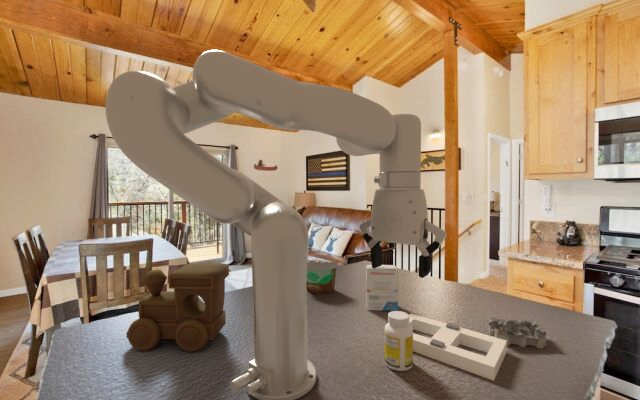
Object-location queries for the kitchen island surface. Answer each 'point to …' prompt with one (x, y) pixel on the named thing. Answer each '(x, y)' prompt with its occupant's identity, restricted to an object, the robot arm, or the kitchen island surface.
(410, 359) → the supplement bottle
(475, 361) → the socket plate
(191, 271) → the wooden toy train
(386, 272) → the ink box
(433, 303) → the kitchen island surface
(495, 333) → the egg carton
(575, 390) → the kitchen island surface
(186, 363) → the kitchen island surface
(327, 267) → the food container
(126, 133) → the robot arm
